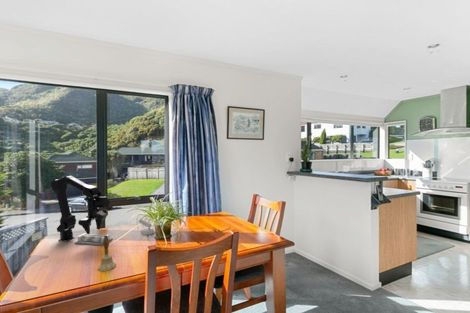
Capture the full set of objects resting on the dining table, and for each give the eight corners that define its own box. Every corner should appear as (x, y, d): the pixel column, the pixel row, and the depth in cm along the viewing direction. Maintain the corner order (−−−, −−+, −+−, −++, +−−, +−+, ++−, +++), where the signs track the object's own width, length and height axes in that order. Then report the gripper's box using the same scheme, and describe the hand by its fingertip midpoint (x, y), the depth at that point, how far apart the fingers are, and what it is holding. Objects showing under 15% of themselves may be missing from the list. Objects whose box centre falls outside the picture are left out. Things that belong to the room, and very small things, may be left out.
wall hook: (142, 216, 191) (155, 217, 189) (142, 230, 191) (155, 230, 189) (135, 220, 182) (149, 220, 180) (136, 234, 183) (149, 235, 181)
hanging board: (74, 243, 167) (74, 237, 167) (86, 238, 177) (86, 232, 176) (102, 245, 163) (101, 239, 163) (112, 239, 173) (112, 233, 173)
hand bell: (95, 267, 135) (93, 236, 134) (112, 262, 141) (111, 231, 140) (101, 273, 129) (99, 240, 128) (118, 267, 135) (117, 235, 134)
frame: (83, 240, 169) (83, 235, 169) (88, 238, 173) (87, 233, 173) (100, 241, 167) (100, 236, 167) (104, 239, 171) (104, 234, 171)
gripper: (93, 211, 158) (94, 237, 159) (113, 204, 176) (114, 227, 177) (77, 210, 160) (78, 236, 161) (98, 203, 178) (99, 226, 179)
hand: (93, 231), depth 170 cm, fingers open, 9 cm apart
